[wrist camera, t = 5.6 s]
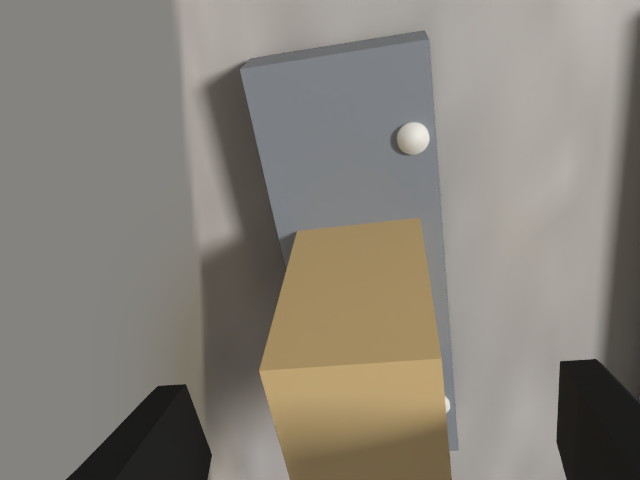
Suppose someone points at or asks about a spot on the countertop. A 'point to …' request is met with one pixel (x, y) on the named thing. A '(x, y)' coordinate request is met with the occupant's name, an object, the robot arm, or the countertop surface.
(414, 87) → the stub
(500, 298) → the countertop surface
